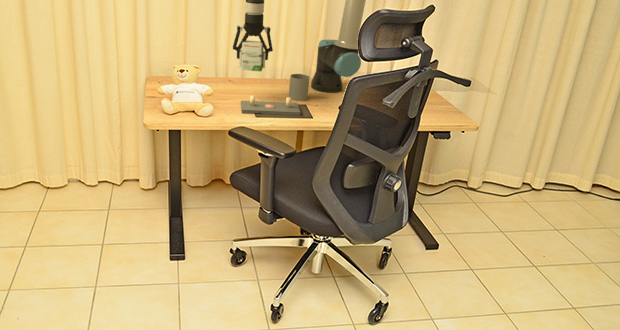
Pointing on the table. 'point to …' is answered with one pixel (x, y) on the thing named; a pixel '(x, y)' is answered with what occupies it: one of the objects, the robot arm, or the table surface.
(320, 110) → the table surface
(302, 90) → the cup
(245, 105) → the board
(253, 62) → the ink box
